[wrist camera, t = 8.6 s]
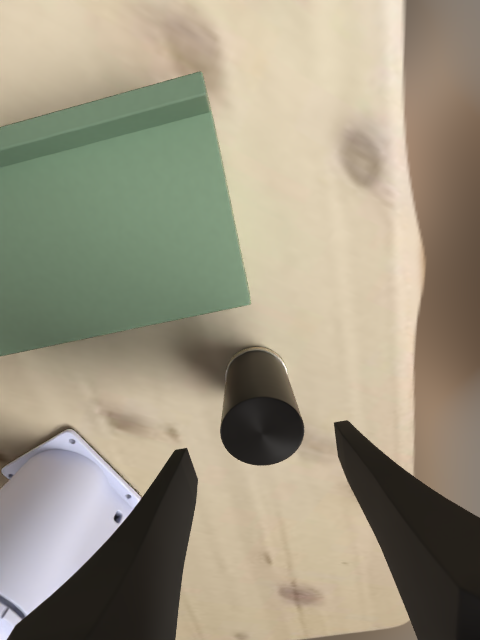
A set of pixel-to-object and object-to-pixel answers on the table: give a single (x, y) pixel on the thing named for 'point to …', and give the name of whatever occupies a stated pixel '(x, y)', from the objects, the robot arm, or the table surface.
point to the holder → (259, 409)
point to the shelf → (115, 218)
